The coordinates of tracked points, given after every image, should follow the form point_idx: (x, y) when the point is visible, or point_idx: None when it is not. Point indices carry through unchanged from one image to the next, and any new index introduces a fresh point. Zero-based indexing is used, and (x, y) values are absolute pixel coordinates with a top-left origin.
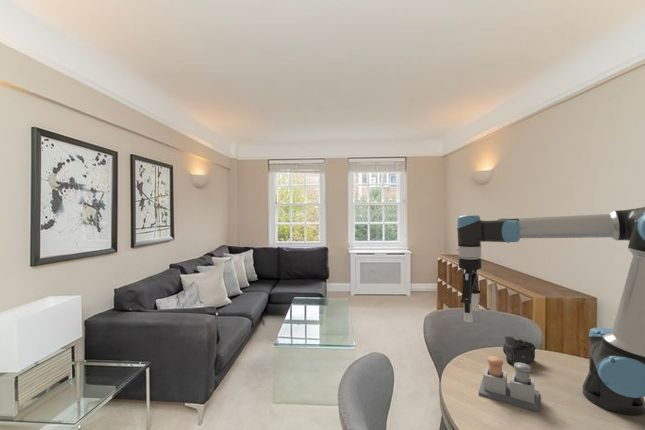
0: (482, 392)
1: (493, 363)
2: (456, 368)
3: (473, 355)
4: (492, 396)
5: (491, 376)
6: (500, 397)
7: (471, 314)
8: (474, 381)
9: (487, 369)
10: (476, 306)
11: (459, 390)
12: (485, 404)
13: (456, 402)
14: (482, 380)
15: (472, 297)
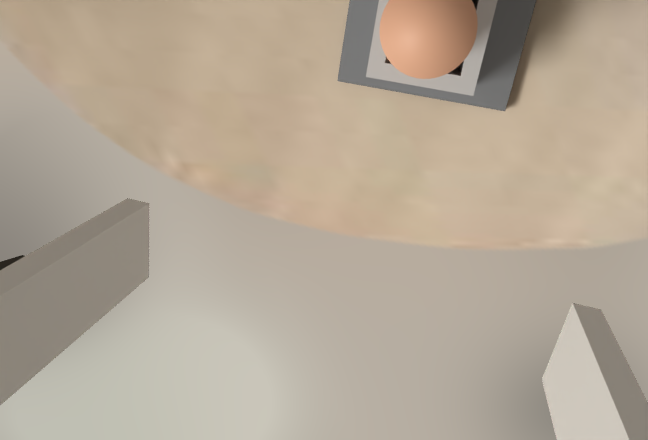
0: (499, 93)
1: (473, 43)
2: (290, 197)
3: (121, 116)
4: (522, 48)
5: (478, 53)
6: (521, 9)
7: (628, 378)
8: (383, 122)
9: (398, 70)
10: (115, 243)
11: (492, 190)
12: (584, 82)
13: (603, 205)
14: (380, 87)
15: (35, 346)
